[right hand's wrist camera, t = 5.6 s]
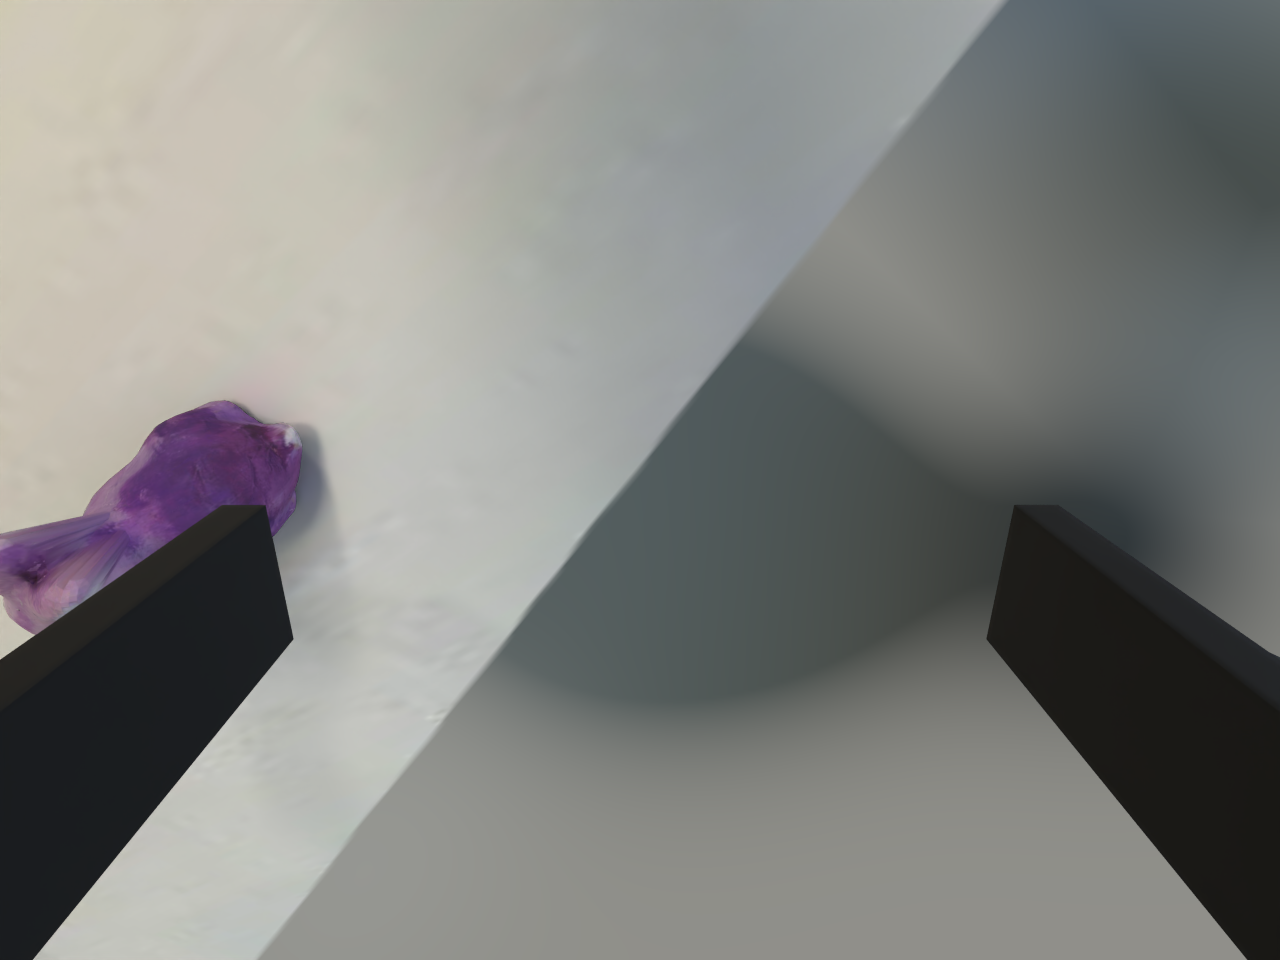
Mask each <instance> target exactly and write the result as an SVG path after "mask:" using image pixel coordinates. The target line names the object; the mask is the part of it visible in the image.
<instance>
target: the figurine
mask: <svg viewBox="0 0 1280 960" xmlns="http://www.w3.org/2000/svg"><path fill="white" fill-rule="evenodd" d="M301 456H302V443H301V440H300V437H299V435H298V433H297V432H296V430H295V429H294V428H293V427H292V426H290V425H288V424H286V423H278V424H262V423H260V422H258V421H257V420H255V418H252V417H250V416H249V415H248V414H246V413H244V412H243V410H242V409H240V408H239V407H238V406H237V405H235V404H233V403H231V402H228V401H213V402H209V403H207V404H205V405H202V406H200V407H198V408H196V409H194V410H191V411H188V412H185V413H182V414H179V415H177V416H174V417H172V418H170V419H168V420H166V421H164V422H162V423H161V424H159V425H158V426H156V427H155V428H154V430H153V431H152V432H151V433H150V435H149V436H148V437H147V439H146V440H145V442H144V443H143V445H142V447H141V449H140V450H139V452H138V454H137V455H136V456H135V457H134V459H133V460H132V461H131V462H130V463H129V464H128V465H126V466H125V467H124V468H123V469H122V470H120V471H119V472H118V473H117V474H115V475H114V476H113V477H112V478H111V479H109V480H108V481H107V482H106V483H105V484H104V485H103V486H102V487H101V488H100V489H99V490H98V491H97V492H96V493H95V495H94V496H93V497H92V499H91V501H90V502H89V504H88V506H87V508H86V510H85V512H84V514H83V516H81V517H76V518H72V519H67V520H62V521H58V522H53V523H48V524H44V525H39V526H34V527H30V528H25V529H20V530H16V531H11V532H6V533H2V534H0V595H2V596H3V604H4V607H5V610H6V612H7V614H8V615H9V617H10V618H11V619H12V620H14V621H15V622H16V623H17V624H18V625H20V626H21V627H22V628H24V629H26V630H27V631H29V632H30V633H32V634H35V635H36V634H38V633H39V632H41V631H42V630H44V629H45V628H46V627H48V626H49V625H51V624H52V623H54V622H55V621H56V620H58V619H59V618H61V617H62V616H64V615H65V614H67V613H68V612H69V611H71V610H72V609H74V608H75V607H77V606H78V605H79V604H81V603H82V602H84V601H85V600H87V599H88V598H89V597H91V596H92V595H94V594H95V593H97V592H98V591H99V590H101V589H102V588H104V587H105V586H107V585H108V584H109V583H111V582H112V581H114V580H115V579H117V578H118V577H120V576H121V575H122V574H124V573H125V572H127V571H128V570H130V569H131V568H132V567H134V566H135V565H137V564H138V563H140V562H141V561H142V560H144V559H145V558H147V557H148V556H150V555H151V554H152V553H154V552H155V551H157V550H158V549H160V548H161V547H162V546H164V545H165V544H167V543H168V542H170V541H171V540H173V539H174V538H175V537H177V536H178V535H180V534H181V533H183V532H184V531H185V530H187V529H188V528H190V527H191V526H193V525H194V524H195V523H197V522H198V521H200V520H201V519H203V518H204V517H205V516H207V515H208V514H210V513H211V512H213V511H214V510H215V509H217V508H218V507H220V506H221V505H266V509H267V514H268V519H269V523H270V528H271V533H272V537H273V536H274V535H275V534H276V533H277V532H278V530H279V529H280V528H281V527H282V525H283V524H284V523H285V521H286V520H287V519H288V518H289V516H290V515H291V514H292V513H293V512H294V510H295V507H296V493H295V487H296V485H297V482H298V478H299V472H300V464H301Z"/></svg>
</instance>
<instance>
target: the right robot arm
mask: <svg viewBox="0 0 1280 960" xmlns="http://www.w3.org/2000/svg"><path fill="white" fill-rule="evenodd" d="M292 640H293V634H292V629H291V625H290V620H289V615H288V610H287V605H286V600H285V596H284V591H283V586H282V581H281V576H280V572H279V567H278V562H277V557H276V552H275V547H274V543H273V538H272V533H271V528H270V523H269V519H268V514H267V509H266V505H221V506H220V507H218V508H217V509H215V510H214V511H213V512H211V513H210V514H208V515H207V516H205V517H204V518H203V519H201V520H200V521H198V522H197V523H195V524H194V525H193V526H191V527H190V528H188V529H187V530H185V531H184V532H183V533H181V534H180V535H178V536H177V537H175V538H174V539H173V540H171V541H170V542H168V543H167V544H165V545H164V546H162V547H161V548H160V549H158V550H157V551H155V552H154V553H152V554H151V555H150V556H148V557H147V558H145V559H144V560H142V561H141V562H140V563H138V564H137V565H135V566H134V567H132V568H131V569H130V570H128V571H127V572H125V573H124V574H122V575H121V576H120V577H118V578H117V579H115V580H114V581H112V582H111V583H109V584H108V585H107V586H105V587H104V588H102V589H101V590H99V591H98V592H97V593H95V594H94V595H92V596H91V597H89V598H88V599H87V600H85V601H84V602H82V603H81V604H79V605H78V606H77V607H75V608H74V609H72V610H71V611H69V612H68V613H67V614H65V615H64V616H62V617H61V618H59V619H58V620H56V621H55V622H54V623H52V624H51V625H49V626H48V627H46V628H45V629H44V630H42V631H41V632H39V633H38V634H36V635H35V636H34V637H32V638H31V639H29V640H28V641H26V642H25V643H24V644H22V645H21V646H19V647H18V648H16V649H15V650H14V651H12V652H11V653H9V654H8V655H6V656H5V657H3V658H2V659H1V660H0V960H33V959H34V958H35V956H36V955H37V954H38V953H39V951H40V950H41V949H42V948H43V946H44V945H45V944H46V943H47V942H48V940H49V939H50V938H51V937H52V935H53V934H54V933H55V932H56V930H57V929H58V928H59V927H60V926H61V924H62V923H63V922H64V921H65V919H66V918H67V917H68V916H69V914H70V913H71V912H72V911H73V910H74V908H75V907H76V906H77V905H78V903H79V902H80V901H81V900H82V898H83V897H84V896H85V895H86V894H87V892H88V891H89V890H90V889H91V887H92V886H93V885H94V884H95V883H96V881H97V880H98V879H99V878H100V876H101V875H102V874H103V873H104V871H105V870H106V869H107V868H108V867H109V865H110V864H111V863H112V862H113V860H114V859H115V858H116V857H117V855H118V854H119V853H120V852H121V851H122V849H123V848H124V847H125V846H126V844H127V843H128V842H129V841H130V839H131V838H132V837H133V836H134V835H135V833H136V832H137V831H138V830H139V828H140V827H141V826H142V825H143V824H144V822H145V821H146V820H147V819H148V817H149V816H150V815H151V814H152V812H153V811H154V810H155V809H156V808H157V806H158V805H159V804H160V803H161V801H162V800H163V799H164V798H165V796H166V795H167V794H168V793H169V792H170V790H171V789H172V788H173V787H174V785H175V784H176V783H177V782H178V780H179V779H180V778H181V777H182V776H183V774H184V773H185V772H186V771H187V769H188V768H189V767H190V766H191V765H192V763H193V762H194V761H195V760H196V758H197V757H198V756H199V755H200V753H201V752H202V751H203V750H204V749H205V747H206V746H207V745H208V744H209V742H210V741H211V740H212V739H213V737H214V736H215V735H216V734H217V733H218V731H219V730H220V729H221V728H222V726H223V725H224V724H225V723H226V721H227V720H228V719H229V718H230V717H231V715H232V714H233V713H234V712H235V710H236V709H237V708H238V707H239V705H240V704H241V703H242V702H243V701H244V699H245V698H246V697H247V696H248V694H249V693H250V692H251V691H252V690H253V688H254V687H255V686H256V685H257V683H258V682H259V681H260V680H261V678H262V677H263V676H264V675H265V674H266V672H267V671H268V670H269V669H270V667H271V666H272V665H273V664H274V662H275V661H276V660H277V659H278V658H279V656H280V655H281V654H282V653H283V651H284V650H285V649H286V648H287V646H288V645H289V644H290V643H291V642H292ZM987 640H988V642H989V643H990V644H991V645H992V646H993V648H994V649H995V650H996V651H997V653H998V654H999V655H1000V656H1001V658H1002V659H1003V660H1004V661H1005V662H1006V664H1007V665H1008V666H1009V667H1010V669H1011V670H1012V671H1013V672H1014V674H1015V675H1016V676H1017V677H1018V678H1019V680H1020V681H1021V682H1022V683H1023V685H1024V686H1025V687H1026V688H1027V689H1028V691H1029V692H1030V693H1031V694H1032V696H1033V697H1034V698H1035V699H1036V701H1037V702H1038V703H1039V704H1040V705H1041V707H1042V708H1043V709H1044V710H1045V712H1046V713H1047V714H1048V715H1049V717H1050V718H1051V719H1052V720H1053V721H1054V723H1055V724H1056V725H1057V726H1058V728H1059V729H1060V730H1061V731H1062V732H1063V734H1064V735H1065V736H1066V737H1067V739H1068V740H1069V741H1070V742H1071V744H1072V745H1073V746H1074V747H1075V749H1076V750H1077V751H1078V752H1079V753H1080V755H1081V756H1082V757H1083V758H1084V760H1085V761H1086V762H1087V763H1088V764H1089V766H1090V767H1091V768H1092V769H1093V771H1094V772H1095V773H1096V774H1097V776H1098V777H1099V778H1100V779H1101V780H1102V782H1103V783H1104V784H1105V785H1106V787H1107V788H1108V789H1109V790H1110V792H1111V793H1112V794H1113V795H1114V796H1115V798H1116V799H1117V800H1118V801H1119V803H1120V804H1121V805H1122V806H1123V808H1124V809H1125V810H1126V811H1127V812H1128V814H1129V815H1130V816H1131V817H1132V819H1133V820H1134V821H1135V822H1136V824H1137V825H1138V826H1139V827H1140V828H1141V830H1142V831H1143V832H1144V833H1145V835H1146V836H1147V837H1148V838H1149V839H1150V841H1151V842H1152V843H1153V844H1154V846H1155V847H1156V848H1157V849H1158V851H1159V852H1160V853H1161V854H1162V855H1163V857H1164V858H1165V859H1166V860H1167V862H1168V863H1169V864H1170V865H1171V866H1172V868H1173V869H1174V870H1175V871H1176V873H1177V874H1178V875H1179V876H1180V878H1181V879H1182V880H1183V881H1184V883H1185V884H1186V885H1187V886H1188V887H1189V889H1190V890H1191V891H1192V892H1193V894H1194V895H1195V896H1196V897H1197V898H1198V900H1199V901H1200V902H1201V903H1202V905H1203V906H1204V907H1205V908H1206V910H1207V911H1208V912H1209V913H1210V914H1211V916H1212V917H1213V918H1214V919H1215V921H1216V922H1217V923H1218V924H1219V925H1220V927H1221V928H1222V929H1223V930H1224V932H1225V933H1226V934H1227V935H1228V937H1229V938H1230V939H1231V940H1232V941H1233V943H1234V944H1235V945H1236V946H1237V948H1238V949H1239V950H1240V951H1241V953H1242V954H1243V955H1244V956H1245V957H1246V959H1247V960H1280V657H1278V656H1276V655H1274V654H1272V653H1269V652H1268V651H1266V650H1265V649H1264V648H1262V647H1261V646H1259V645H1258V644H1256V643H1255V642H1254V641H1252V640H1251V639H1249V638H1248V637H1246V636H1245V635H1244V634H1242V633H1241V632H1239V631H1238V630H1236V629H1235V628H1234V627H1232V626H1231V625H1229V624H1228V623H1226V622H1225V621H1224V620H1222V619H1221V618H1219V617H1218V616H1216V615H1215V614H1213V613H1212V612H1211V611H1209V610H1208V609H1206V608H1205V607H1203V606H1202V605H1201V604H1199V603H1198V602H1196V601H1195V600H1193V599H1192V598H1191V597H1189V596H1188V595H1186V594H1185V593H1183V592H1182V591H1181V590H1179V589H1178V588H1176V587H1175V586H1173V585H1172V584H1171V583H1169V582H1168V581H1166V580H1165V579H1163V578H1162V577H1160V576H1159V575H1158V574H1156V573H1155V572H1153V571H1152V570H1150V569H1149V568H1148V567H1146V566H1145V565H1143V564H1142V563H1140V562H1139V561H1138V560H1136V559H1135V558H1133V557H1132V556H1130V555H1129V554H1128V553H1126V552H1125V551H1123V550H1122V549H1120V548H1119V547H1118V546H1116V545H1115V544H1113V543H1112V542H1110V541H1109V540H1107V539H1106V538H1105V537H1103V536H1102V535H1100V534H1099V533H1097V532H1096V531H1095V530H1093V529H1092V528H1090V527H1089V526H1087V525H1086V524H1084V523H1083V522H1082V521H1080V520H1079V519H1077V518H1076V517H1075V516H1073V515H1072V514H1070V513H1069V512H1067V511H1066V510H1065V509H1063V508H1062V507H1060V506H1059V505H1014V509H1013V514H1012V519H1011V523H1010V528H1009V533H1008V538H1007V543H1006V547H1005V552H1004V557H1003V562H1002V567H1001V572H1000V576H999V581H998V586H997V591H996V596H995V600H994V605H993V610H992V615H991V620H990V625H989V629H988V634H987Z"/></svg>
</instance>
